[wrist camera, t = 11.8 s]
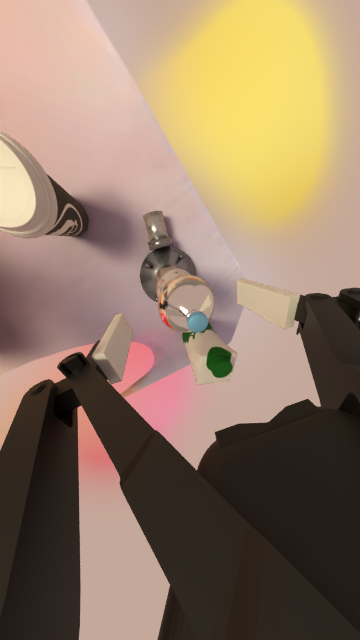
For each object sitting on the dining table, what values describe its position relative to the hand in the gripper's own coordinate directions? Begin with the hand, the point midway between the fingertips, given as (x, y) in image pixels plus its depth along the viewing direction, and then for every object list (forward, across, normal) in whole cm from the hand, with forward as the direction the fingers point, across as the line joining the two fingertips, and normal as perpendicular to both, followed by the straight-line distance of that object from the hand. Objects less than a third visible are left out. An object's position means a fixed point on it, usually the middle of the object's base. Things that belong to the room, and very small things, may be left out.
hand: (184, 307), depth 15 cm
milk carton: (+22, +4, -17) cm, 29 cm away
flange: (+22, +1, +3) cm, 22 cm away
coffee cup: (+23, -15, +16) cm, 32 cm away
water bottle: (+21, +1, 0) cm, 21 cm away
